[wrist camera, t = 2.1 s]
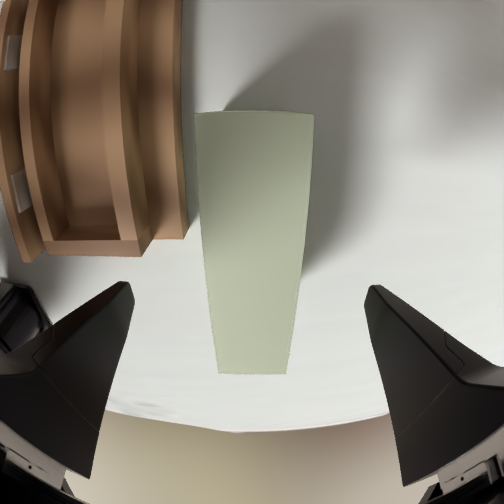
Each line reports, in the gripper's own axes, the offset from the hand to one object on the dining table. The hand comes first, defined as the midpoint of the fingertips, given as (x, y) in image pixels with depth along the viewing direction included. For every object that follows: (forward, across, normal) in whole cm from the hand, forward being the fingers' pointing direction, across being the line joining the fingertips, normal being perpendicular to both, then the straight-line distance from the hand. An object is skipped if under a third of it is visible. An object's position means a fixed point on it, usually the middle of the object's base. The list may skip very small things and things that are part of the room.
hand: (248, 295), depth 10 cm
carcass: (+8, +9, -8) cm, 14 cm away
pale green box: (+8, 0, 0) cm, 8 cm away
